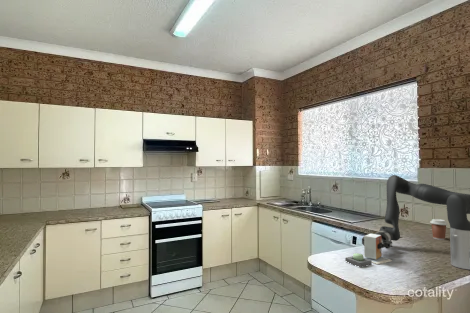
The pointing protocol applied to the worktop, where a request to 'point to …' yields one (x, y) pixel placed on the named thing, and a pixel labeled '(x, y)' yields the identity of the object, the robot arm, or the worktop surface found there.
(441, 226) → the coffee cup
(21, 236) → the worktop surface
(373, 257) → the small box
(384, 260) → the paper pad
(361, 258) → the button
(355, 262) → the button housing
